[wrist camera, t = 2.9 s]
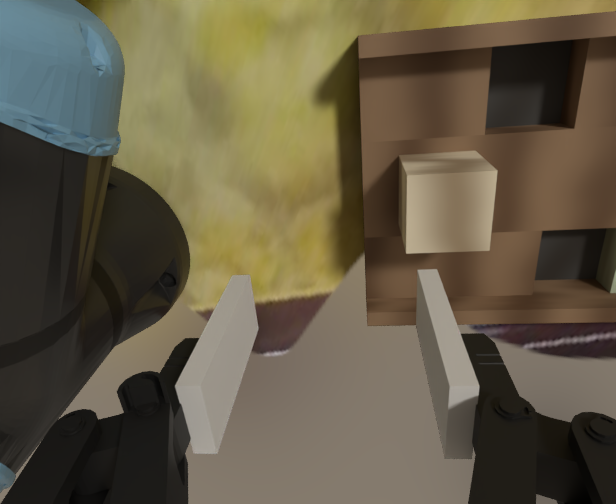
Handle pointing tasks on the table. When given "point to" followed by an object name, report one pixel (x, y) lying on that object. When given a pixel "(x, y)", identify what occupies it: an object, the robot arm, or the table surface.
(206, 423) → the robot arm
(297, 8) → the table surface
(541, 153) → the box
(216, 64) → the table surface
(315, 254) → the table surface
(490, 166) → the maple cube
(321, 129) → the table surface
